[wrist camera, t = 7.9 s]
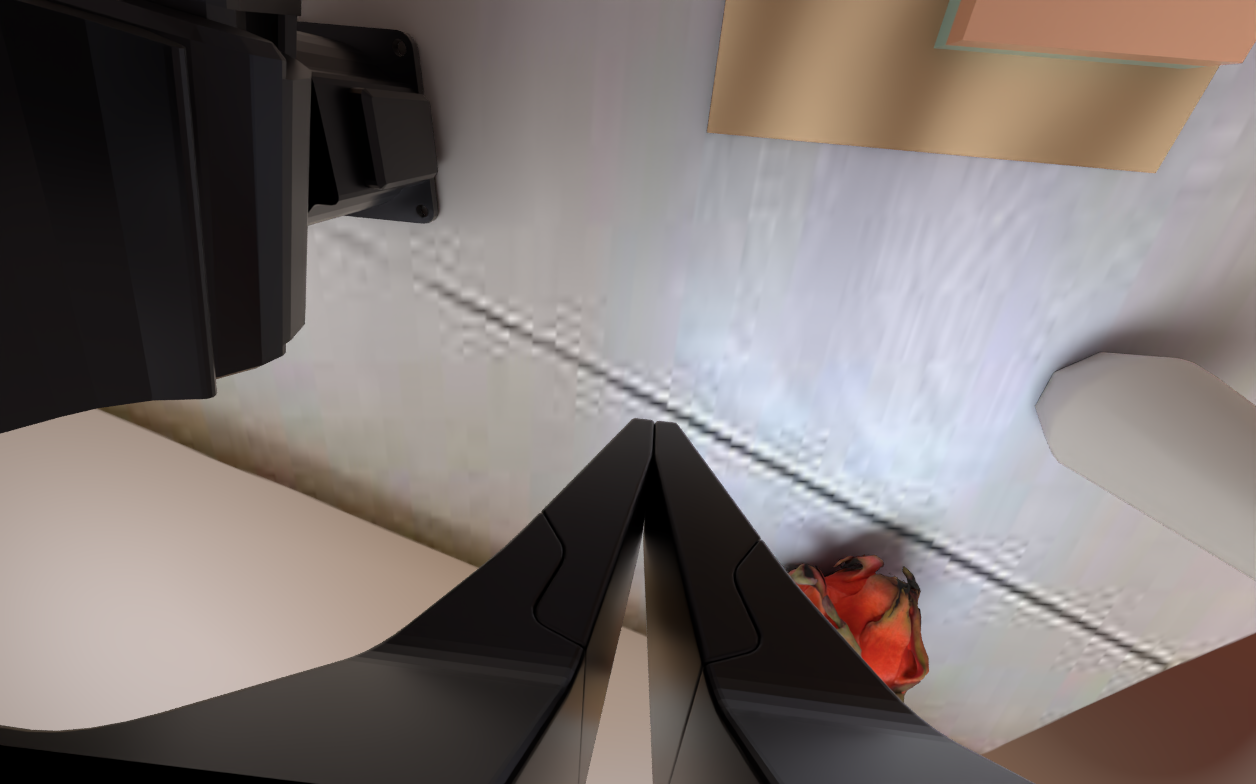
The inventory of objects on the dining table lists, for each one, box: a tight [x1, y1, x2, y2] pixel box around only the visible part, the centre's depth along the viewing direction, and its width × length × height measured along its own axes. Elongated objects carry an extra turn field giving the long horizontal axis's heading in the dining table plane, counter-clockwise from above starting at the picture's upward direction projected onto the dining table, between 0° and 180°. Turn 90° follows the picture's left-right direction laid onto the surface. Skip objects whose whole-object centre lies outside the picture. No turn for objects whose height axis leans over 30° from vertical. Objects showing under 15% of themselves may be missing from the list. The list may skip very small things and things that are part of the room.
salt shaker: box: [1035, 352, 1256, 581], centre depth 16 cm, size 6×6×13 cm
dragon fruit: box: [788, 555, 929, 703], centre depth 26 cm, size 8×8×12 cm
